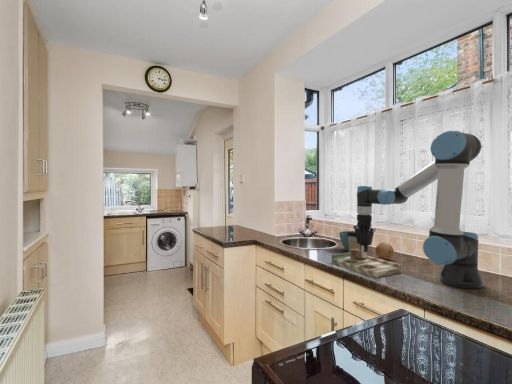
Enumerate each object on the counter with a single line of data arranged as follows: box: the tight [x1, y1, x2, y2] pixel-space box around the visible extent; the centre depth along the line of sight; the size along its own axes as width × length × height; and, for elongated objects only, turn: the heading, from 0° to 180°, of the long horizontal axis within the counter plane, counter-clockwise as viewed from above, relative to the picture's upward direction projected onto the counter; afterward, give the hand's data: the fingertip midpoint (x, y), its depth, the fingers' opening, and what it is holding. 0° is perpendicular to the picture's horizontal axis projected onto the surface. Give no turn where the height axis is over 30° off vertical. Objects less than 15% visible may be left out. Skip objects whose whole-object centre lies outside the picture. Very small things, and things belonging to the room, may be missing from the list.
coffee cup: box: [347, 230, 360, 251], centre depth 167 cm, size 9×9×15 cm
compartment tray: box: [331, 251, 402, 279], centre depth 144 cm, size 29×18×4 cm, turn 29°
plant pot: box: [338, 230, 351, 253], centre depth 182 cm, size 18×18×12 cm
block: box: [350, 248, 367, 261], centre depth 152 cm, size 6×6×5 cm
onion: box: [375, 242, 395, 261], centre depth 160 cm, size 10×10×10 cm
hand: (363, 257), depth 148 cm, fingers closed
